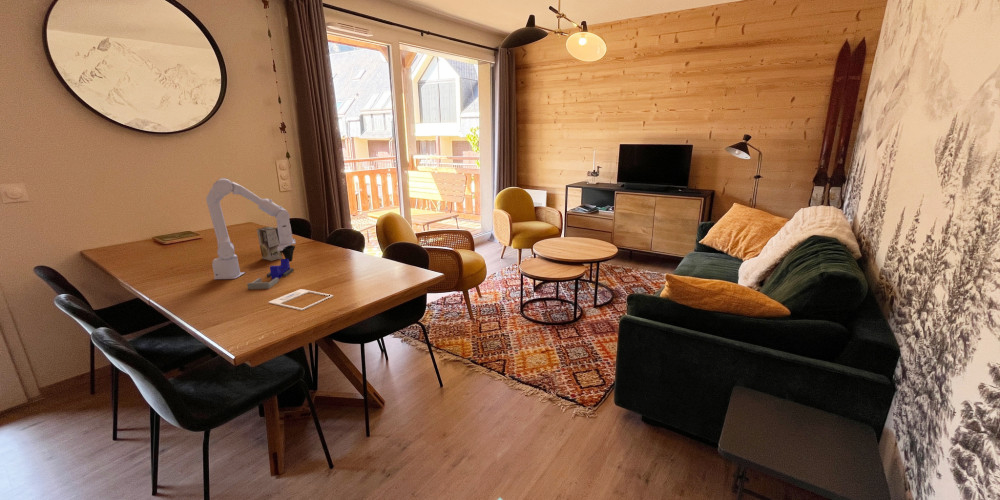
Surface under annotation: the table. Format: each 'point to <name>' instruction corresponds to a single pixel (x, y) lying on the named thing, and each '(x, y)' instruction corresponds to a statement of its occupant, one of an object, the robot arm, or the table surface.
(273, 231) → the coffee box
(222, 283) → the table surface
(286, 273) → the guide channel
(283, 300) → the photo frame
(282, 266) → the cable clip
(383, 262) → the table surface
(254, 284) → the bracket
